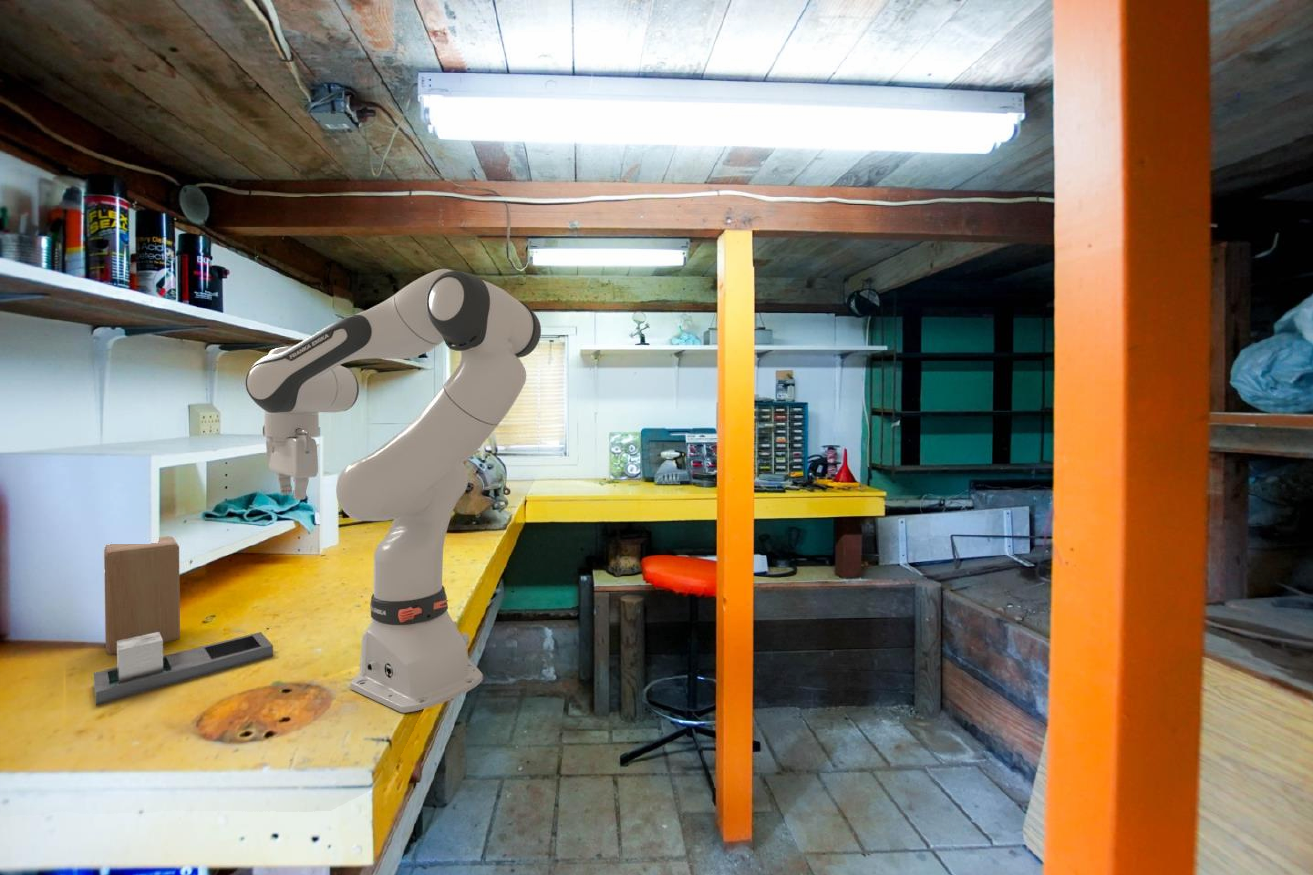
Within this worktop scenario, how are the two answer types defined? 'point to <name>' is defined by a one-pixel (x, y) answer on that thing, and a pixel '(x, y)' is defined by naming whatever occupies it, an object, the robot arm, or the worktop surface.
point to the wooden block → (141, 591)
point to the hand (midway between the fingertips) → (292, 496)
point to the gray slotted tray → (185, 666)
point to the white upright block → (139, 657)
